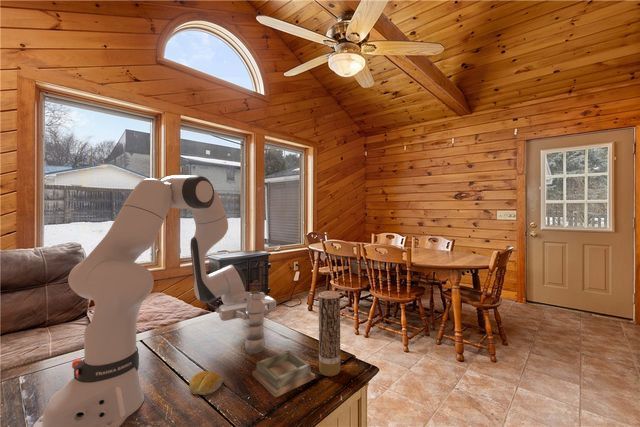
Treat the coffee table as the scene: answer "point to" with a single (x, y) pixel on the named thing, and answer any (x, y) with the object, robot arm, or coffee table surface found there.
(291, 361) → the bottle stand
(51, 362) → the coffee table surface
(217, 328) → the coffee table surface
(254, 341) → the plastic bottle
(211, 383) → the bread roll
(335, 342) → the paper tube
